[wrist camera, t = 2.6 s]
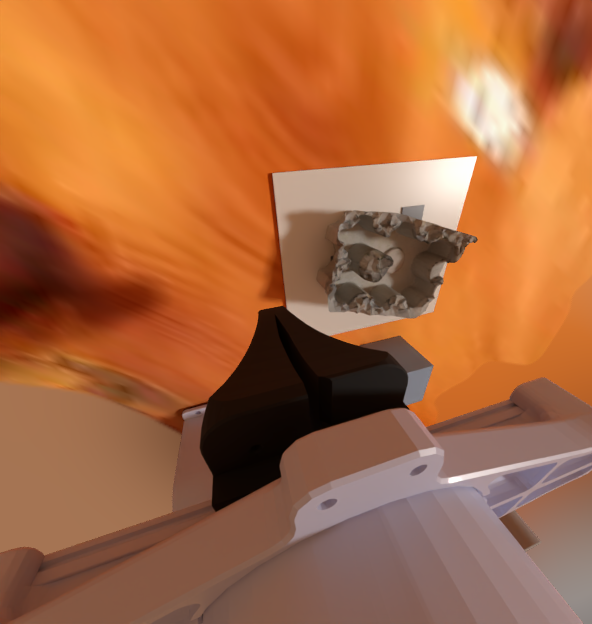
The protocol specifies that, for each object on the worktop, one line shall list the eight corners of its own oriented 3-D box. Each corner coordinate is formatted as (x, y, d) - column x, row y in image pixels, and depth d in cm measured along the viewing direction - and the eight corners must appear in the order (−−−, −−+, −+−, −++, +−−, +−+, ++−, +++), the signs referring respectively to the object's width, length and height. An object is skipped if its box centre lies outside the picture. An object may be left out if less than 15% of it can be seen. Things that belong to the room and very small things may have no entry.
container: (441, 447, 45) (526, 551, 32) (423, 451, 43) (504, 562, 31) (453, 432, 43) (549, 537, 30) (434, 435, 41) (526, 548, 29)
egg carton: (441, 225, 20) (487, 235, 16) (404, 303, 23) (435, 325, 20) (331, 196, 16) (361, 201, 13) (306, 293, 19) (324, 318, 16)
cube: (356, 377, 27) (379, 413, 23) (359, 345, 25) (386, 378, 21) (392, 367, 28) (422, 400, 24) (399, 335, 26) (433, 365, 22)
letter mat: (290, 343, 22) (291, 345, 22) (271, 173, 15) (272, 173, 14) (432, 310, 25) (434, 312, 25) (474, 156, 18) (478, 156, 17)
